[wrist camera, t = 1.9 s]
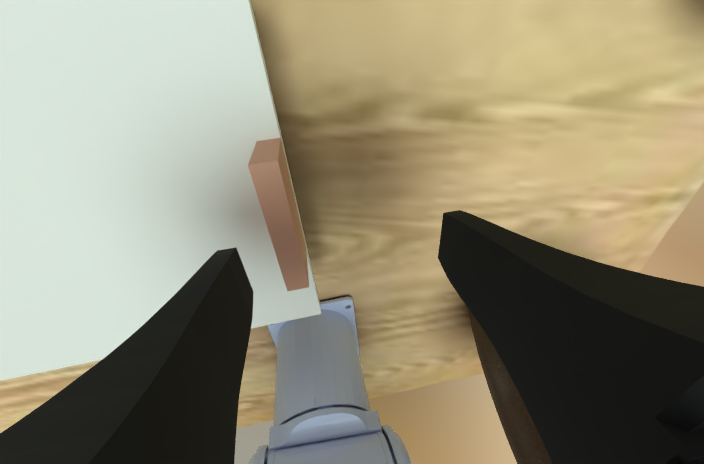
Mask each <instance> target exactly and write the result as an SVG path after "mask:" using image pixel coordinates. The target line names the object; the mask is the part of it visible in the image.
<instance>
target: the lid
mask: <svg viewBox="0 0 704 464" xmlns="http://www.w3.org/2000/svg"><path fill="white" fill-rule="evenodd" d="M230 248H237V251H238V253H239V256H240V258H241V261H242V264H243V266H244V269H245V271H246V274H247V276H248V279H249V282H250V284H251V287H252V289H253V316H252V324H251V328H256V327H261V326H266V325H270V324H275V323H280V322H285V321H290V320H294V319H299V318H304V317H309V316H314V315H319V314H321V306H320V301H319V297H318V292H317V288H316V284H315V279H314V275H313V271H312V266H311V262H310V257H309V253H308V249H307V244H306V240H305V236H304V231H303V227H302V222H301V218H300V214H299V209H298V205H297V201H296V196H295V192H294V187H293V183H292V179H291V174H290V170H289V166H288V161H287V157H286V152H285V148H284V144H283V139H282V135H281V131H280V126H279V122H278V117H277V113H276V109H275V104H274V100H273V96H272V91H271V87H270V83H269V78H268V74H267V69H266V65H265V61H264V56H263V52H262V48H261V43H260V39H259V34H258V30H257V26H256V21H255V17H254V13H253V8H252V4H251V0H0V381H1V380H6V379H11V378H16V377H21V376H25V375H30V374H35V373H40V372H45V371H49V370H54V369H59V368H64V367H69V366H73V365H78V364H83V363H88V362H93V361H97V360H102V359H104V358H105V357H106V356H107V355H109V354H110V353H111V352H112V351H113V350H115V349H116V348H117V347H118V346H119V345H121V344H122V343H123V342H124V341H125V340H127V339H128V338H129V337H130V336H131V335H132V334H133V333H135V332H136V331H137V330H138V329H139V328H140V327H141V326H142V325H144V324H145V323H146V322H147V321H148V320H149V319H150V318H151V317H152V316H153V315H154V314H155V313H156V312H157V311H158V310H159V309H160V308H161V307H162V306H163V305H164V304H166V303H167V302H168V301H169V300H170V299H171V298H172V297H173V296H174V295H175V294H176V293H177V292H178V291H179V290H180V289H181V288H182V286H183V285H184V284H185V283H186V282H187V281H188V280H189V279H190V278H191V277H192V276H193V275H194V274H195V273H196V272H197V271H198V270H199V269H200V268H201V266H202V265H203V264H204V263H205V262H206V261H207V260H208V259H209V258H210V257H211V256H212V255H213V254H214V253H215V252H216V251H218V250H224V249H230Z"/></svg>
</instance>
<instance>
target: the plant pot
mask: <svg viewBox="0 0 704 464" xmlns="http://www.w3.org/2000/svg"><path fill="white" fill-rule="evenodd" d="M469 315H470V320H471V325H472V330H473V334H474V338H475V342H476V346H477V350H478V354H479V358H480V361H481V365H482V368H483V371H484V374H485V378H486V380H487V384H488V387H489V390H490V393H491V396H492V399H493V401H494V404H495V407H496V410H497V412H498V415H499V418H500V421H501V423H502V426H503V429H504V431H505V434H506V437H507V439H508V442H509V444H510V447H511V449H512V452H513V454H514V456H515V459H516V461H517V464H553V463H552V461H551V459H550V456H549V454H548V452H547V450H546V448H545V445H544V443H543V441H542V439H541V437H540V435H539V432H538V430H537V428H536V426H535V424H534V422H533V420H532V418H531V416H530V414H529V412H528V410H527V408H526V406H525V404H524V402H523V400H522V398H521V396H520V394H519V392H518V390H517V388H516V386H515V384H514V382H513V381H512V379H511V377H510V375H509V373H508V371H507V369H506V367H505V366H504V364H503V362H502V360H501V358H500V357H499V355H498V353H497V351H496V349H495V348H494V346H493V344H492V342H491V341H490V339H489V338H488V336H487V335H486V333H485V331H484V330H483V329H482V327H481V326H480V324H479V323H478V321H477V320H476V319H475V317H474V316H473V314H472V313H471V311H470V310H469Z"/></svg>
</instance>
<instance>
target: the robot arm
mask: <svg viewBox="0 0 704 464" xmlns="http://www.w3.org/2000/svg"><path fill="white" fill-rule="evenodd" d="M438 259H439V261H440V263H441V265H442V267H443V269H444V271H445V273H446V275H447V277H448V279H449V281H450V282H451V284H452V285H453V287H454V288H455V290H456V291H457V293H458V294H459V296H460V297H461V298H462V300H463V301H464V303H465V304H466V306H467V307H468V309H469V310H470V311H471V313H472V314H473V316H474V317H475V319H476V320H477V321H478V323H479V324H480V326H481V327H482V329H483V330H484V331H485V333H486V335H487V336H488V338H489V339H490V341H491V342H492V344H493V346H494V348H495V349H496V351H497V353H498V355H499V357H500V358H501V360H502V362H503V364H504V366H505V367H506V369H507V371H508V373H509V375H510V377H511V379H512V381H513V382H514V384H515V386H516V388H517V390H518V392H519V394H520V396H521V398H522V400H523V402H524V404H525V406H526V408H527V410H528V412H529V414H530V416H531V418H532V420H533V422H534V424H535V426H536V428H537V430H538V432H539V435H540V437H541V439H542V441H543V443H544V445H545V448H546V450H547V452H548V454H549V456H550V459H551V461H552V463H553V464H704V287H702V286H696V285H691V284H686V283H681V282H676V281H672V280H667V279H663V278H658V277H653V276H649V275H645V274H641V273H637V272H633V271H629V270H625V269H621V268H617V267H613V266H610V265H606V264H602V263H599V262H596V261H592V260H589V259H586V258H583V257H580V256H576V255H573V254H570V253H567V252H564V251H561V250H558V249H555V248H553V247H550V246H547V245H545V244H542V243H539V242H537V241H534V240H531V239H529V238H526V237H524V236H521V235H519V234H517V233H514V232H512V231H509V230H507V229H505V228H502V227H500V226H498V225H495V224H493V223H491V222H488V221H486V220H484V219H481V218H479V217H477V216H474V215H472V214H469V213H466V212H463V211H460V210H459V211H453V212H447V213H443V221H442V230H441V238H440V246H439V254H438ZM347 305H348V306H347ZM320 306H321V314H319V315H314V316H309V317H304V318H299V319H294V320H290V321H285V322H280V323H275V324H270V325H267V327H268V329H269V331H270V334H271V336H272V339H273V341H274V344H275V346H276V348H277V363H276V385H275V407H274V427H271V428H270V437H269V447H268V445H264V446H260V447H259V448H258V449H257V451H256V453H255V454H254V456H253V457H252V458H251V459H250V461H249V464H411V461H410V458H409V455H408V453H407V450H406V447H405V445H404V443H403V442H402V440H401V438H400V437H399V435H398V434H397V433H396V432H394V430H393V429H392V428H391V427H390V426H389V425H382V426H381V424H380V419H379V415H378V411H371V409H370V405H369V401H368V396H367V391H366V387H365V382H364V378H363V373H362V369H361V364H360V360H359V357H360V352H359V344H358V337H357V329H356V321H355V314H354V306H353V300H352V298H351V297H343V298H338V299H333V300H328V301H323V302H320ZM252 316H253V289H252V287H251V284H250V282H249V279H248V276H247V274H246V271H245V269H244V266H243V264H242V261H241V258H240V256H239V253H238V251H237V248H230V249H224V250H218V251H216V252H215V253H214V254H213V255H212V256H211V257H210V258H209V259H208V260H207V261H206V262H205V263H204V264H203V265H202V266H201V268H200V269H199V270H198V271H197V272H196V273H195V274H194V275H193V276H192V277H191V278H190V279H189V280H188V281H187V282H186V283H185V284H184V285H183V286H182V288H181V289H180V290H179V291H178V292H177V293H176V294H175V295H174V296H173V297H172V298H171V299H170V300H169V301H168V302H167V303H166V304H164V305H163V306H162V307H161V308H160V309H159V310H158V311H157V312H156V313H155V314H154V315H153V316H152V317H151V318H150V319H149V320H148V321H147V322H146V323H145V324H144V325H142V326H141V327H140V328H139V329H138V330H137V331H136V332H135V333H133V334H132V335H131V336H130V337H129V338H128V339H127V340H125V341H124V342H123V343H122V344H121V345H119V346H118V347H117V348H116V349H115V350H113V351H112V352H111V353H110V354H109V355H107V356H106V357H105V358H104V359H102V360H101V361H100V362H99V363H97V364H96V365H95V366H93V367H92V368H91V369H89V370H88V371H87V372H85V373H84V374H83V375H81V376H80V377H79V378H77V379H76V380H75V381H73V382H72V383H71V384H69V385H68V386H67V387H65V388H64V389H63V390H61V391H60V392H59V393H57V394H56V395H55V396H53V397H52V398H51V399H49V400H48V401H47V402H45V403H44V404H42V405H41V406H40V407H38V408H37V409H35V410H34V411H32V412H31V413H30V414H28V415H27V416H25V417H24V418H22V419H21V420H20V421H18V422H17V423H15V424H14V425H12V426H11V427H9V428H8V429H6V430H5V431H3V432H2V433H0V464H234V455H235V438H236V425H237V412H238V400H239V393H240V386H241V380H242V375H243V369H244V364H245V358H246V353H247V347H248V342H249V336H250V330H251V324H252Z"/></svg>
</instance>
